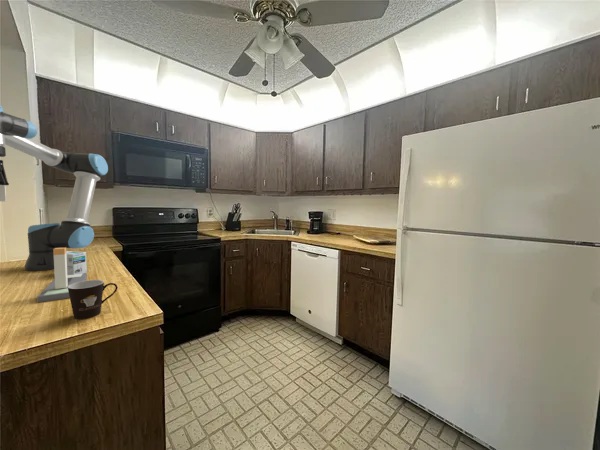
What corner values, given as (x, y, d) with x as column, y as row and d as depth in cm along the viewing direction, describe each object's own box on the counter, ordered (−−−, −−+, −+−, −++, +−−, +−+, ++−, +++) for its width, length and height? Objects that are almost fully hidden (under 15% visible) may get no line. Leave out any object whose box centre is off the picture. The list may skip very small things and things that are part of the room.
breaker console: (57, 280, 107) (57, 275, 107) (87, 277, 113) (86, 273, 113) (37, 302, 85) (37, 296, 84) (76, 297, 90) (75, 291, 90)
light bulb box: (87, 272, 121) (86, 251, 120) (73, 276, 114) (72, 254, 113) (68, 271, 122) (67, 250, 121) (53, 275, 115) (52, 253, 114)
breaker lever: (57, 286, 93) (55, 247, 92) (67, 285, 95) (66, 247, 94) (55, 289, 91) (53, 249, 90) (66, 287, 93) (64, 248, 91)
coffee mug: (64, 323, 71) (62, 290, 70) (74, 311, 79) (73, 281, 78) (113, 316, 76) (112, 285, 76) (118, 305, 84) (117, 277, 83)
